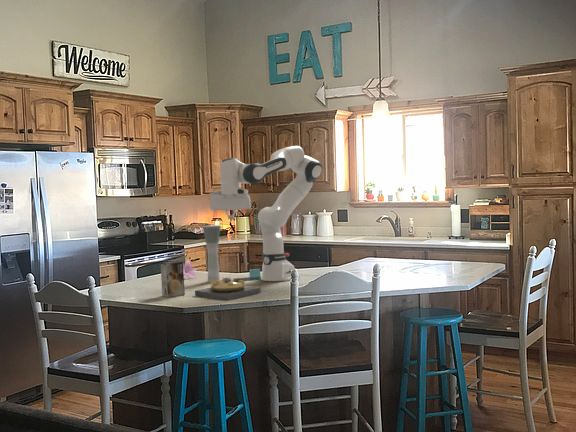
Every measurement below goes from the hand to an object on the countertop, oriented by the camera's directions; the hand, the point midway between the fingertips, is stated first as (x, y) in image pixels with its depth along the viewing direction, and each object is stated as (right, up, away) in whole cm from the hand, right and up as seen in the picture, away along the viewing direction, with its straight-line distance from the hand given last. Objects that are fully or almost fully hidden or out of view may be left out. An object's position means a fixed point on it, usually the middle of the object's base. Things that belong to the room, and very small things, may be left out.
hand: (231, 218), depth 322 cm
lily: (-28, -34, +44) cm, 62 cm away
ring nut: (+3, -33, -11) cm, 35 cm away
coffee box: (-27, -37, -10) cm, 47 cm away
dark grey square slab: (0, -36, -12) cm, 38 cm away
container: (-12, -34, +29) cm, 46 cm away
